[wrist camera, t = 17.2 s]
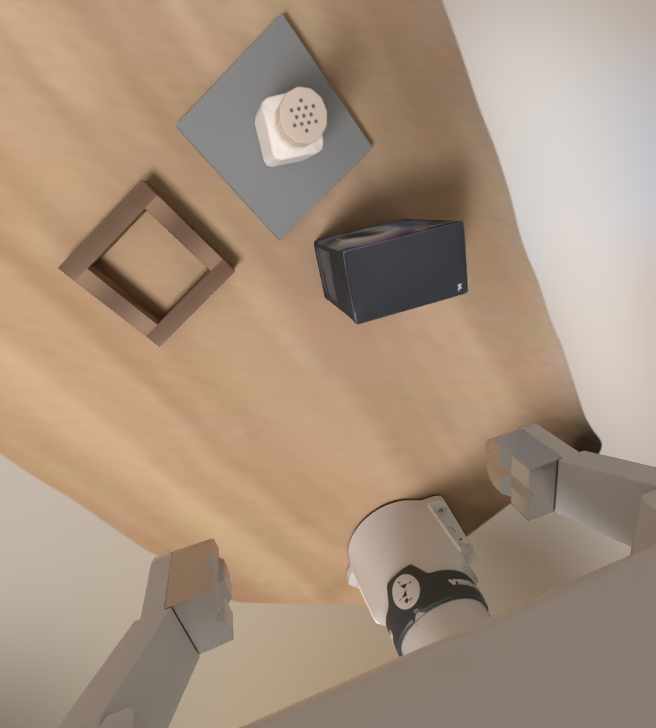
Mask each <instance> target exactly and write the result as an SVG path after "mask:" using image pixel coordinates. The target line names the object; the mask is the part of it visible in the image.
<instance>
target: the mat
mask: <svg viewBox="0 0 656 728" xmlns="http://www.w3.org/2000/svg"><path fill="white" fill-rule="evenodd" d="M298 86H299V87H305V88H311V89H312V90H313V91H315V92H316V93H317V94H318V95H319V96H320V97H321V98H322V100H323V102H324V105H325V107H326V110H327V126H326V128H325V130H324V132H323V133H322V135H323V147H322V150H321V151H320V152H318V153H317V154H315V155H313V156H311V157H309V158H307V159H305V160H303V161H299V162H294V163H289V164H284V165H280V166H275V167H270V166H267V165H266V163H265V162H264V160H263V156H262V151H261V147H260V143H259V139H258V135H257V131H256V126H255V117H256V114H257V112H258V110H259V108H260V106H261V104H262V102H263V101H264V100H265V99H266V98H267V97H271V96H275V95H280V94H285V93H287V92H289V91H290V90H292V89H294V88H296V87H298ZM176 127H177V128H178V130H179V131H180V132H181V133H182V134H183V135H184V136H185V137H186V138H187V139H188V141H189V142H190V143H191V144H192V145H193V146H194V147H195V148H196V149H197V151H198V152H199V153H200V154H201V155H202V156H203V157H204V158H205V159H206V160H207V162H208V163H209V164H210V165H211V166H212V167H213V168H214V169H215V170H216V171H217V173H218V174H219V175H220V176H221V177H222V178H223V179H224V180H225V181H226V182H227V184H228V185H229V186H230V187H231V188H232V189H233V190H234V191H235V192H236V193H237V195H238V196H239V197H240V198H241V199H242V200H243V201H244V202H245V203H246V205H247V206H248V207H249V208H250V209H251V210H252V211H253V212H254V213H255V214H256V216H257V217H258V218H259V219H260V220H261V221H262V222H263V223H264V224H265V225H266V227H267V228H268V229H269V230H270V231H271V232H272V233H273V234H274V235H275V236H276V238H277V239H278V240H280V239H281V238H282V237H283V236H284V235H285V234H286V233H287V232H288V231H289V230H290V229H291V228H292V227H293V226H294V225H295V224H296V223H297V222H298V221H299V220H300V219H301V218H302V217H303V216H304V215H305V214H306V213H307V212H308V211H309V210H310V209H311V208H312V207H313V206H314V205H315V204H316V203H317V202H318V201H319V200H320V199H321V198H322V197H323V196H324V195H325V194H326V193H327V192H328V191H329V190H330V189H331V188H332V187H333V186H334V185H335V184H336V183H337V182H338V181H339V180H340V179H341V178H342V177H343V176H344V175H345V174H346V173H347V172H348V171H349V170H350V169H351V168H352V167H353V166H354V165H355V164H356V163H357V162H358V161H359V160H360V159H361V158H362V157H363V156H364V155H365V154H366V153H367V152H368V151H369V150H370V149H371V148H372V146H371V145H370V143H369V142H368V140H367V139H366V137H365V136H364V134H363V133H362V131H361V130H360V128H359V127H358V125H357V124H356V122H355V121H354V119H353V118H352V116H351V115H350V113H349V112H348V110H347V109H346V107H345V106H344V105H343V103H342V102H341V100H340V99H339V97H338V96H337V94H336V93H335V91H334V90H333V88H332V87H331V85H330V84H329V82H328V81H327V79H326V78H325V76H324V75H323V73H322V72H321V70H320V69H319V67H318V66H317V64H316V63H315V61H314V60H313V58H312V57H311V55H310V54H309V52H308V51H307V49H306V48H305V46H304V45H303V43H302V42H301V41H300V39H299V38H298V36H297V35H296V33H295V32H294V30H293V29H292V27H291V26H290V24H289V23H288V21H287V20H286V18H285V17H284V15H283V14H281V15H280V16H279V17H278V18H277V19H276V20H275V21H274V22H273V23H272V24H271V25H270V26H269V27H268V28H267V29H266V31H265V32H264V33H263V34H262V35H261V36H260V37H259V38H258V39H257V40H256V41H255V42H254V43H253V44H252V45H251V46H250V47H249V48H248V50H247V51H246V52H245V53H244V54H243V55H242V56H241V57H240V58H239V59H238V60H237V61H236V62H235V63H234V64H233V65H232V66H231V68H230V69H229V70H228V71H227V72H226V73H225V74H224V75H223V76H222V77H221V78H220V79H219V80H218V81H217V82H216V83H215V84H214V85H213V87H212V88H211V89H210V90H209V91H208V92H207V93H206V94H205V95H204V96H203V97H202V98H201V99H200V100H199V101H198V102H197V103H196V105H195V106H194V107H193V108H192V109H191V110H190V111H189V112H188V113H187V114H186V115H185V116H184V117H183V118H182V119H181V120H180V121H179V122H178V124H177V125H176Z"/></svg>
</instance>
